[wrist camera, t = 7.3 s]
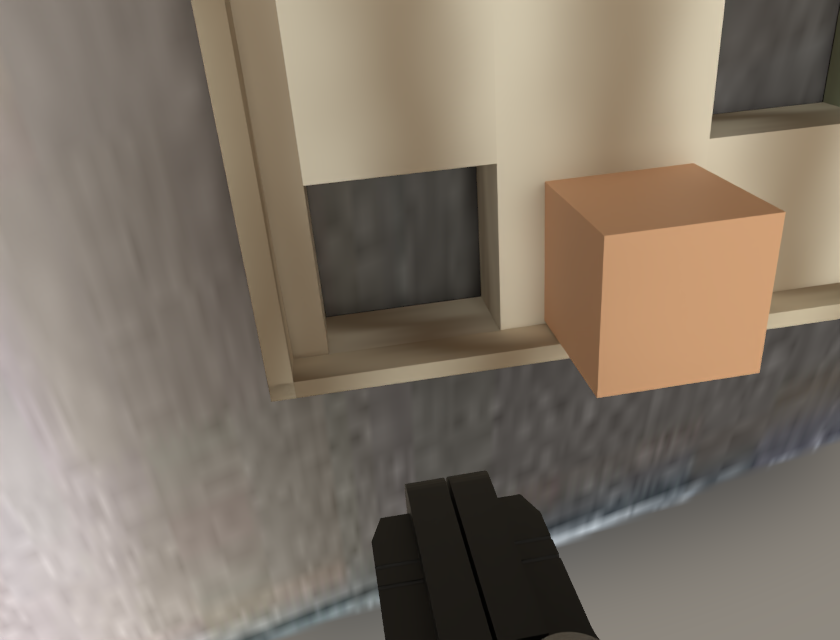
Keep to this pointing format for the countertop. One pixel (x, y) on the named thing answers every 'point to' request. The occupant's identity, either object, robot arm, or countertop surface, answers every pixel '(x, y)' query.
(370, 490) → the countertop surface
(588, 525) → the countertop surface
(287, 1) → the beige wooden tray
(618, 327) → the block
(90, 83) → the countertop surface
